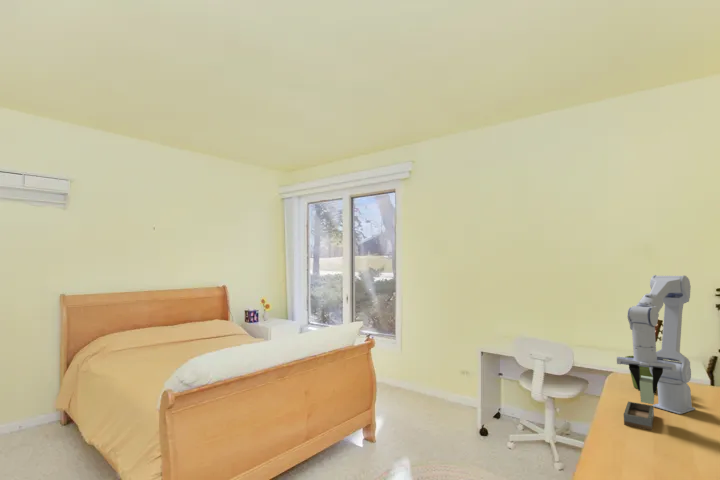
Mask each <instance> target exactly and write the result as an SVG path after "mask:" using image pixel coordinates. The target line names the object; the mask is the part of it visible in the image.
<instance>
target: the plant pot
mask: <svg viewBox="0 0 720 480" xmlns="http://www.w3.org/2000/svg"><path fill="white" fill-rule="evenodd" d="M625 357H627V358H634V355H626V356H625ZM629 373H630V377H631V380H632V381H631V382H632V385H633V387H634V388H635V389H637V390H638V387H637V384H636V381H635V379H634V377H633V375H632V373H631V371H630V370H629ZM641 376H648V377H653V376H652V374H651V373H650V368H649V367H641V366H640V378H641ZM656 391H658V387H657V388H656Z"/></svg>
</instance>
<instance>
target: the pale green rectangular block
mask: <svg viewBox="0 0 720 480" xmlns="http://www.w3.org/2000/svg"><path fill="white" fill-rule="evenodd" d="M639 393H640V396H639V397H640V403H642V404H648V405H654V402H655V393H653V377H648V376H641V378H640V391H639Z"/></svg>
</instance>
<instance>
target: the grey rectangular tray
mask: <svg viewBox="0 0 720 480" xmlns="http://www.w3.org/2000/svg"><path fill="white" fill-rule="evenodd" d="M654 409H655V407H653V405H652V404H647V403H641V402H640V403H638V402H633V401H627V404H626V406H625V409H624V412H623V425H624V426H628V427H633V428H634V427H635V428H638V429H643V428H644V430H649V431H653V427H654V426H653V424H654V419H655V418H654V417H655V414H654V413H655V411H654Z"/></svg>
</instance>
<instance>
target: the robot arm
mask: <svg viewBox="0 0 720 480" xmlns="http://www.w3.org/2000/svg"><path fill="white" fill-rule="evenodd" d="M649 280H650V281H649V286H650V291H649V293H645V294H644V295H643V296H642V298H640V300H639V301H638V302H637V304H636V305H632V306H630V307H629V308H628V310H627V317H626V318H627V321H628V324H629V330H631V336H632V349H633V351H632V352H633V356H634V358H627V357H626V356H624V357H623V356H617V357H616V364H617V365H625V366H628V370H629V372H630V371H631V373H632V375H633V377H634V379H635V381H636V384H637V387H638V389H637V390H638V392H640V366H641V367H649V368H650V373H651V374H652V376H653V393H654V394H657V398H658V399H657V400H658V402H657V403H655V404H652V406H653V407H654V408H658V409H660V410H664V411H667V412H671V413H674V414H678V415H682V414H685V413H689V412H691V411H695V410H696V407H694V406H692V393H691V388H690V386H689V384H688V383H689V382H690V381H691V378H692V370H691V361H690V360H689V358H687V357H686V356H685V355H684V354H683V353H681V339H682V337H681V336H682V324H683V323H682V321H683V309H684V304H686V303H689V302H690V298H691V281H690V279H689V277H687V275H656V274H653V275H652V276H651V278H650V279H649ZM663 306H664V312H663V322H662V323H663V324H662V325H663V326H662V339H661V340H662V341H661V349H659V350H657V342H656V341H657V340H656V326H657V325H658V321H659V317H660V316H659V315H660V314H659V313H660V311H661V309H662V308H663ZM631 373H630V374H631ZM656 388H657V390H656Z"/></svg>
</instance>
